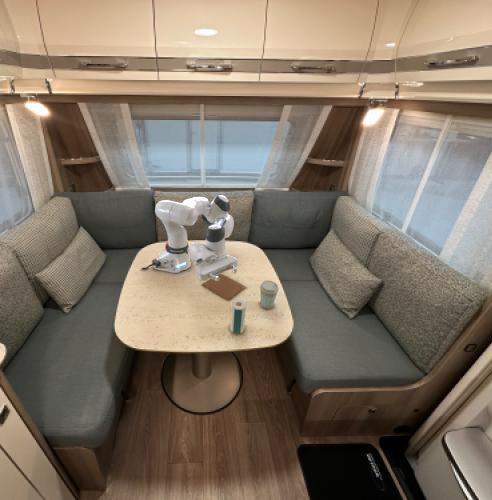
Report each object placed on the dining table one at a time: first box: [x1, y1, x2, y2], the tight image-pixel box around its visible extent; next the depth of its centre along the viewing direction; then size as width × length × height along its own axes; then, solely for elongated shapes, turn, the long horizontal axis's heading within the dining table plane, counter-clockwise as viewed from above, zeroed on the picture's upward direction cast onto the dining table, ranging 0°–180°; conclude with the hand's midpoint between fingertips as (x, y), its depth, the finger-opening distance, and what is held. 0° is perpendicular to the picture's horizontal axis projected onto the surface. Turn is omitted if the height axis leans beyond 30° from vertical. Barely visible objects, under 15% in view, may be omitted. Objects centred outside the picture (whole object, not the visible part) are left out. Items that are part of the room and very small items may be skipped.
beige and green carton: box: [229, 299, 247, 335], centre depth 113 cm, size 6×6×14 cm
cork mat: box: [201, 273, 246, 301], centre depth 142 cm, size 18×14×1 cm
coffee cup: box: [259, 280, 280, 310], centre depth 127 cm, size 9×8×12 cm
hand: (227, 275), depth 116 cm, fingers open, 8 cm apart
